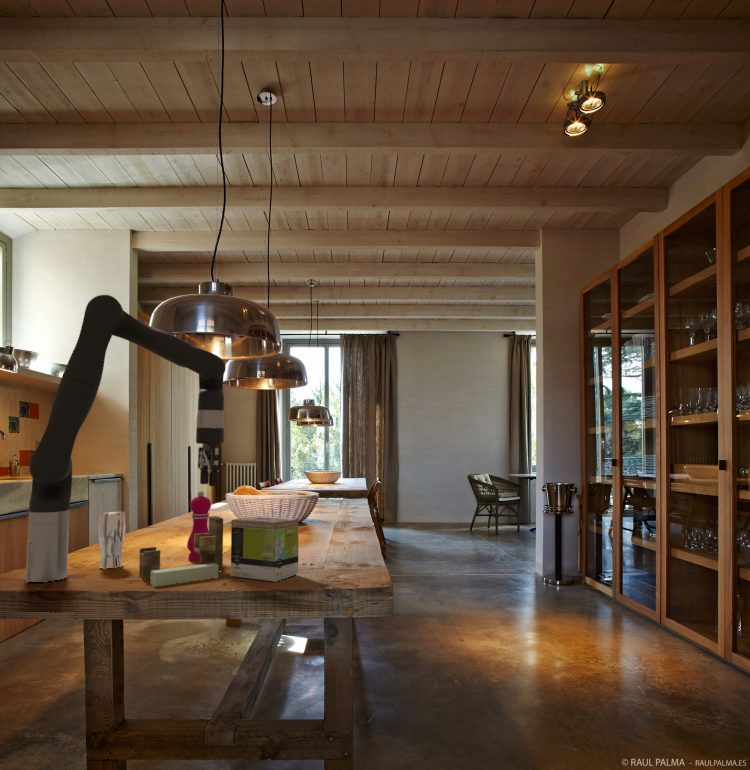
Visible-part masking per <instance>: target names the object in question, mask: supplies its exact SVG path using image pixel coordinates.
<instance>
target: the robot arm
mask: <svg viewBox="0 0 750 770" xmlns="http://www.w3.org/2000/svg"><path fill="white" fill-rule="evenodd" d="M80 327H81V328H80V331H79V335H78V339H77V341H76V344H75V346H74V348H73V350H72V353H71V355H70V357H69V360H68V362H67V364H66V366H65V369H64V371H63V373H62V377H61V379H60V382H59V384H58V387H57V390H56V394H55V396H54V400H53V404H52V406H51V411H50V414H49V417H48V423H47V425H46V429H45V430H44V433H43V435H42V437H41V439H40V441H39V443H38V445H37V447H36V449H35V451H34V453H33V455H32V457H31V459H30V462H29V465H28V467H29V473H30V476H31V478H32V480H31V482H32V484H31V485H32V486H31V494H30V499H29V502H28V503H29V505H28V506H29V507H28V524H27V525H28V526H27V528H28V529H27V542H26V543H27V545H26V568H25V583H26V584H29V583H28V582H43V583H49V582H48V581H52V582H55V581H54V580H58V581H61V580H60V579H62V580H64V578H65V579H66V578H67V577H68V558H69V557H68V555H69V529H70V510H71V507H70V505H71V497H72V483H73V461H72V454H73V449H74V446H75V443H76V442H75V441H76V439H77V436H78V434H79V431H80V430H81V428H82V426H83V424H84V423H85V420H86V419H87V417H88V415H89V413H90V411H91V409H92V407H93V404H94V402H95V399H96V397H97V393H98V391H99V388H100V385H101V381H102V377H103V372H104V367H105V360H106V359H105V358H106V354H107V350H108V347H109V344H110V343H111V339H112V336H114V337H117V338H120V339H123V340H126V341H128V342H131V343H133V344H135V345H137V346H140V347H142V348H143V349H145V350H147V351H149V352H151V353H153V354H155V355H156V356H159V357H160V358H162V359H164V360H166V361H168V362H170V363H173V364H174V365H177V366H179V367H181V368H186V369H188V370H190V371H192V372H194V373H196V374H197V375H198V385H199V386H198V387H199V388H198V389H199V392H198V397H197V398H198V399H197V400H198V402H197V415H196V429H195V430H196V431H195V443H196V444H201V445H202V446H200V447H198V456H197V458H198V459H197V468H198V470H199V471H200V472H199V473H200V475H199V483H200V484H201V485H207V484H208V486H209V487H217V486H218V482H219V481H218V478H219V477H218V475H219V472H220V471H221V470H222V448H221V447H218V445H220V444H223V443H224V442H225V437H224V436H225V413H224V410H225V409H224V408H225V402H224V401H225V395H224V392H223V391H224V390H223V388H224V376H225V375H224V374H225V372H226V364H225V361H224V360H223V358H221V357H220V356H218V355H217V354H214V353H212V352H210V351H208V350H205V349H203V348H201V347H197V346H195V345H194V344H192V343H189V342H188V341H186V340H184V339H183V338H180V337H178V336H176V335H174V334H171V333H170V332H167V331H164V330H161V329H158V328H157V327H153V326H151V325H150V324H149V325H148V324H147V323H144V322H142V321H140V320H138V319H136V318H135V317H133V316H132V315H130V313H128V312H126V311H125V310H124V309H123V306H122V305H121V303H120V302H119V301H118V299H116V297H114V296H112V295H110V294H98V295H96V296H94V297H93V298H91V299H90V300H89V301H88V303H87V304H86V307H85V310H84V315H83V319H82V323H81V326H80Z"/></svg>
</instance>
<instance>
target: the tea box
mask: <svg viewBox="0 0 750 770" xmlns="http://www.w3.org/2000/svg"><path fill="white" fill-rule="evenodd" d="M230 533H231V534H230V536H231V537H230V539H231V541H230V577H238V578H244V579H245V578H246V579H251V580H260V581H266V582H267V581H268V582H274V583H276V582H280V581H283V580H282V579H284V580H286V579H285V578H287V579H289V578H288V577H291V576H294V575H296V574H299V518H296V517H294V518H293V517H277V516H276V517H275V516H256V515H255V516H249V517H243V518H234V519H231V531H230ZM294 577H295V576H294ZM291 578H292V577H291ZM279 580H280V581H279Z"/></svg>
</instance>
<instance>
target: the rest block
mask: <svg viewBox="0 0 750 770" xmlns="http://www.w3.org/2000/svg"><path fill="white" fill-rule="evenodd" d="M161 553H162V552H161V550H160V549H159V550H157V546H151V547H140V548H139V563H138V565H139V566H138V567H139V569H138V571H139V573H138V576H139V575H140V576H139V578H140V579H141V578H142V579H143V580H142V579H141V580H142V581H145V580H144V579H150V575H151V571H153V570H161Z"/></svg>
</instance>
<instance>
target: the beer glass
mask: <svg viewBox="0 0 750 770" xmlns="http://www.w3.org/2000/svg"><path fill="white" fill-rule="evenodd" d="M126 522H127V521H126V511H122V510H121V511H120V510H119V511H118V510H116V511H115V510H114V511H103V512H99V520H98V541H99V546H100V547H99V548H100V560H99V565H98V569H99V568H105V569H104V570H107V569H106V568H116V567H120V568H122V567H124V565H123V558H122V550H123V545H124V540H125V536H126V525H127V524H126ZM121 566H122V567H121ZM116 569H117V568H116Z"/></svg>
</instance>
